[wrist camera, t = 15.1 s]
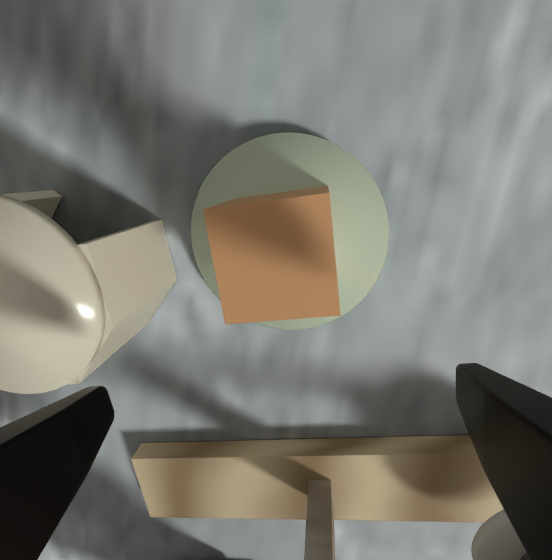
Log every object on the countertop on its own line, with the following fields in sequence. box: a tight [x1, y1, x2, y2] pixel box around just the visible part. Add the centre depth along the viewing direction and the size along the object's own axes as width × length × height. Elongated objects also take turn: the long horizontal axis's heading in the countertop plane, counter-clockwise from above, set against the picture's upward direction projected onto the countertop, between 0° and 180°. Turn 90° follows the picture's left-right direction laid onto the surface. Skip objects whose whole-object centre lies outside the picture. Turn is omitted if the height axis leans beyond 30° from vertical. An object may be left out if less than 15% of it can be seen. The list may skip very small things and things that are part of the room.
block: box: [203, 186, 341, 324], centre depth 13 cm, size 4×4×4 cm
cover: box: [0, 190, 177, 394], centre depth 15 cm, size 7×7×6 cm
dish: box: [191, 132, 389, 330], centre depth 15 cm, size 9×9×1 cm
